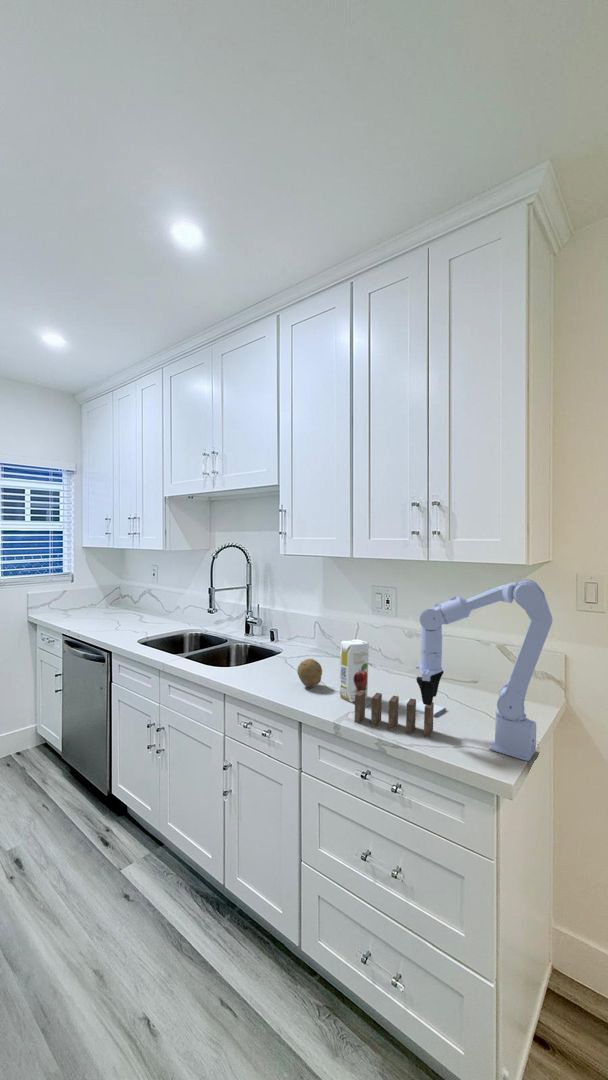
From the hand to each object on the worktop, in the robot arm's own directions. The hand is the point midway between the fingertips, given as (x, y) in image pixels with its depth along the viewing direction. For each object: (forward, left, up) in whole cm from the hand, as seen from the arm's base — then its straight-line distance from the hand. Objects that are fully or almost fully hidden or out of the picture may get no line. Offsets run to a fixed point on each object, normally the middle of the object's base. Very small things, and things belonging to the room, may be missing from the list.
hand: (429, 700), depth 130 cm
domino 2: (+15, +4, -9) cm, 18 cm away
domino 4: (+5, +1, -9) cm, 11 cm away
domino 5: (0, 0, -9) cm, 9 cm away
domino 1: (+19, +5, -9) cm, 22 cm away
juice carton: (+31, -9, -10) cm, 34 cm away
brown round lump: (+49, -8, -10) cm, 51 cm away
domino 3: (+10, +3, -9) cm, 14 cm away
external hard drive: (+10, -16, -10) cm, 22 cm away
